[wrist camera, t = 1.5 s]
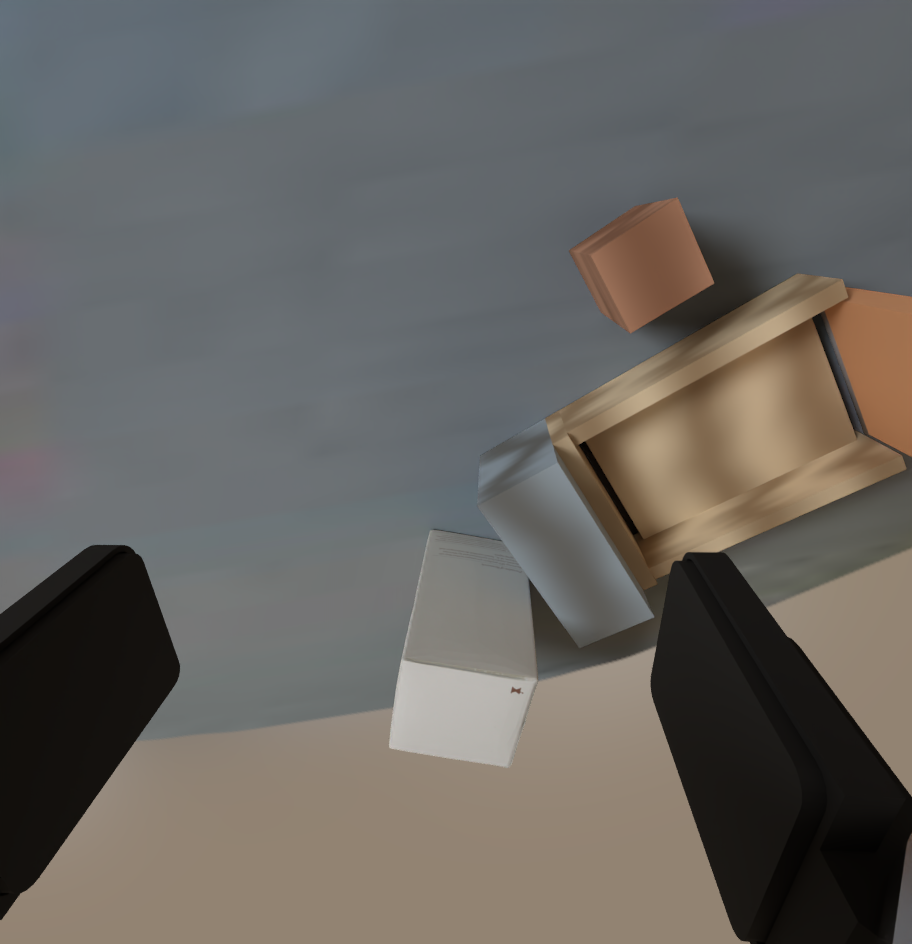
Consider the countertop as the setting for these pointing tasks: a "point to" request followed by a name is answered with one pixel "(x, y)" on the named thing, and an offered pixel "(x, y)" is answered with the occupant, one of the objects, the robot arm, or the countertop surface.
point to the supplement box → (466, 654)
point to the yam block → (642, 264)
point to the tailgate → (876, 361)
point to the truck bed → (680, 459)
